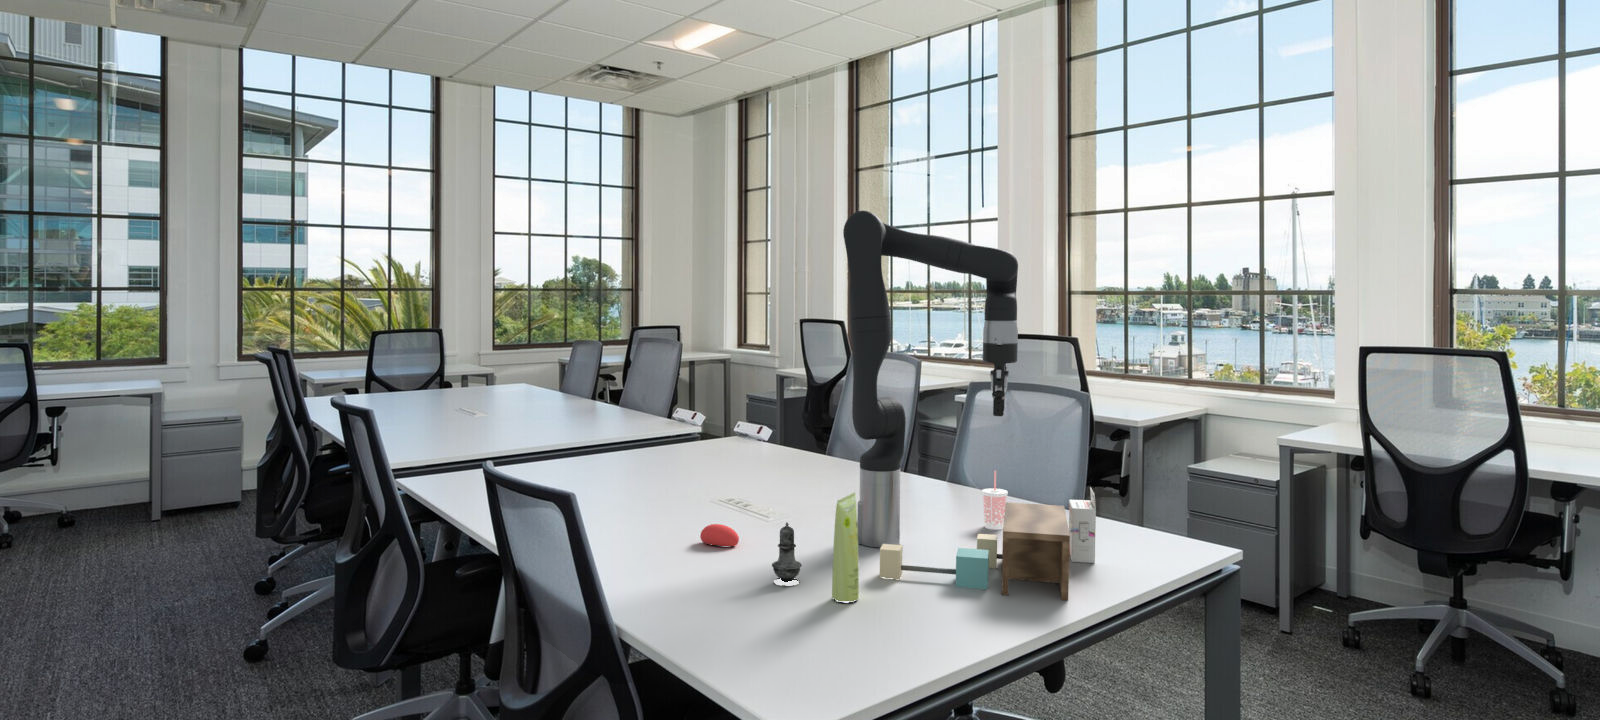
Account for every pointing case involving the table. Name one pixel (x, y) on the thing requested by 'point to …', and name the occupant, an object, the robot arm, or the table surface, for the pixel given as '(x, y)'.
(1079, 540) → the ink cartridge box
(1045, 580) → the walnut shelf
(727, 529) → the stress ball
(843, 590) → the tube
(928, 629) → the table surface
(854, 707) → the table surface
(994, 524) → the beverage cup
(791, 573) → the salt shaker
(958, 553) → the teal and cream dumbbell
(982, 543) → the beige cube-topped post
